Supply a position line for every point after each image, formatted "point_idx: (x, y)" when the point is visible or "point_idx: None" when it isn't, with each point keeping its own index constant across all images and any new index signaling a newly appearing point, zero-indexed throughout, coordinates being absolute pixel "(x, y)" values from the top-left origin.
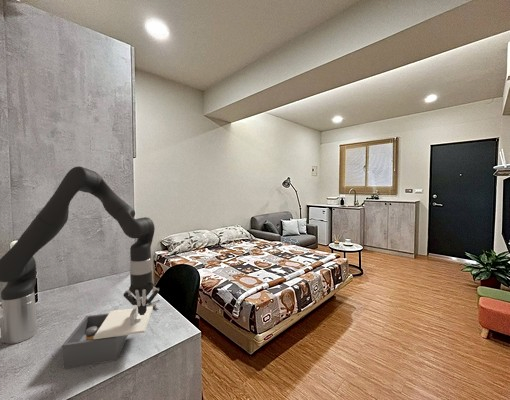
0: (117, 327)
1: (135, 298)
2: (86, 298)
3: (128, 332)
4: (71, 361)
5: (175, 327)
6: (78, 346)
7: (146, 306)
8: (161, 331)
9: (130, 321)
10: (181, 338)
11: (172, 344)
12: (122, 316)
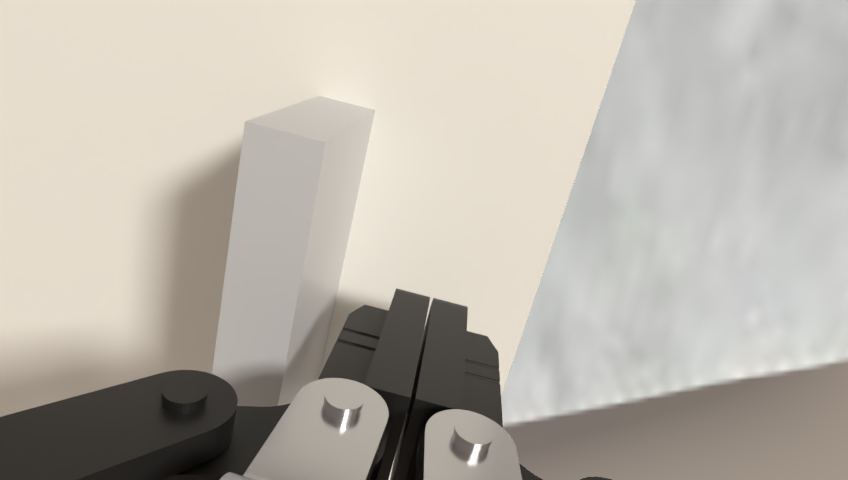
0: (106, 379)
1: (146, 448)
2: None
3: None
4: None
5: (815, 123)
6: None
7: (496, 416)
8: (646, 126)
9: None
10: (792, 344)
11: (686, 384)
12: (106, 88)
